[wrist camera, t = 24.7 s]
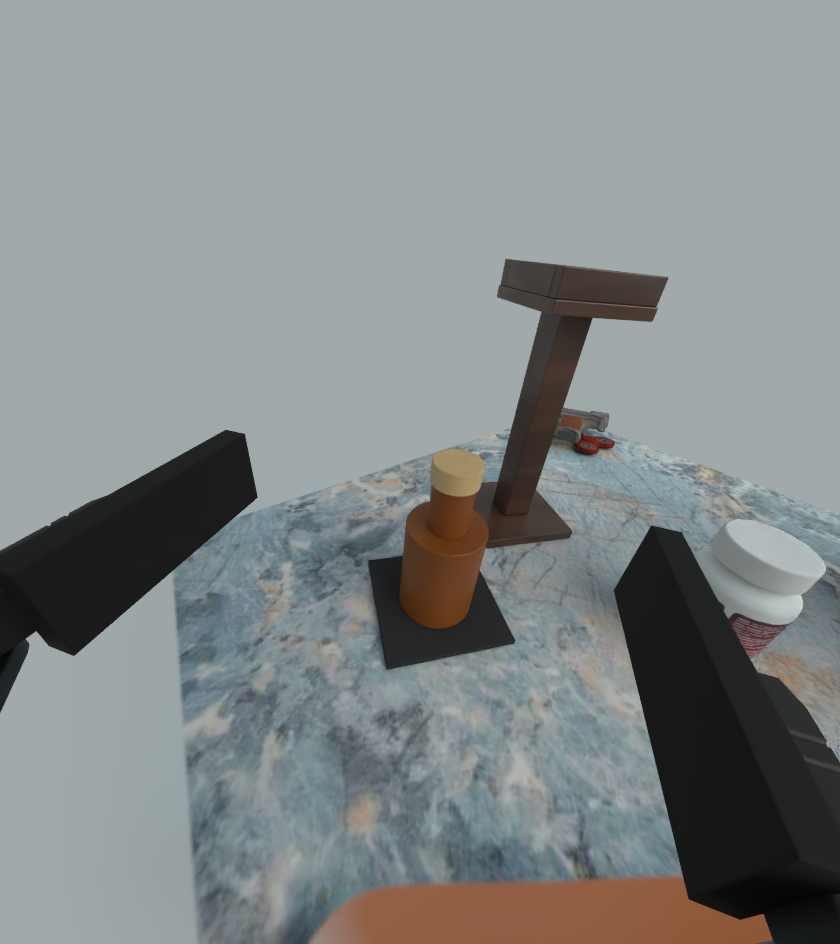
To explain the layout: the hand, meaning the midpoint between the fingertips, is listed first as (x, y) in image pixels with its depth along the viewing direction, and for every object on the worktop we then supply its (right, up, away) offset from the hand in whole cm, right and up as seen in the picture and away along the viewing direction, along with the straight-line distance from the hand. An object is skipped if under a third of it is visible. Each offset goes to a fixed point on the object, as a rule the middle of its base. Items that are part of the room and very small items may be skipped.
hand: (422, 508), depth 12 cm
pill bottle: (+21, -13, +17) cm, 30 cm away
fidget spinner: (+29, +5, +47) cm, 55 cm away
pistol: (+18, +9, +48) cm, 52 cm away
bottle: (+1, -9, +18) cm, 20 cm away
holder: (+10, -4, +29) cm, 31 cm away
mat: (+1, -10, +18) cm, 21 cm away
